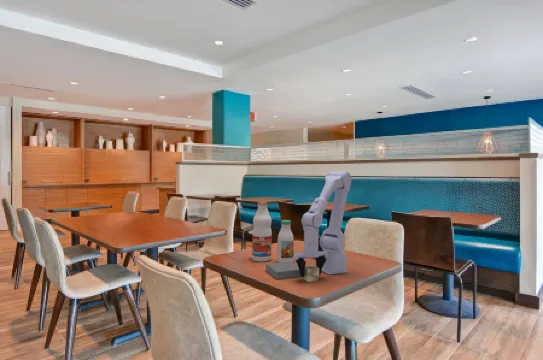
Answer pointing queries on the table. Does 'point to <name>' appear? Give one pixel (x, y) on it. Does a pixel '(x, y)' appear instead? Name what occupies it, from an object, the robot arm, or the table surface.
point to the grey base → (283, 270)
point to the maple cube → (311, 273)
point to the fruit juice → (262, 234)
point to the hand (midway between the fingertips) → (310, 275)
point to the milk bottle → (285, 243)
